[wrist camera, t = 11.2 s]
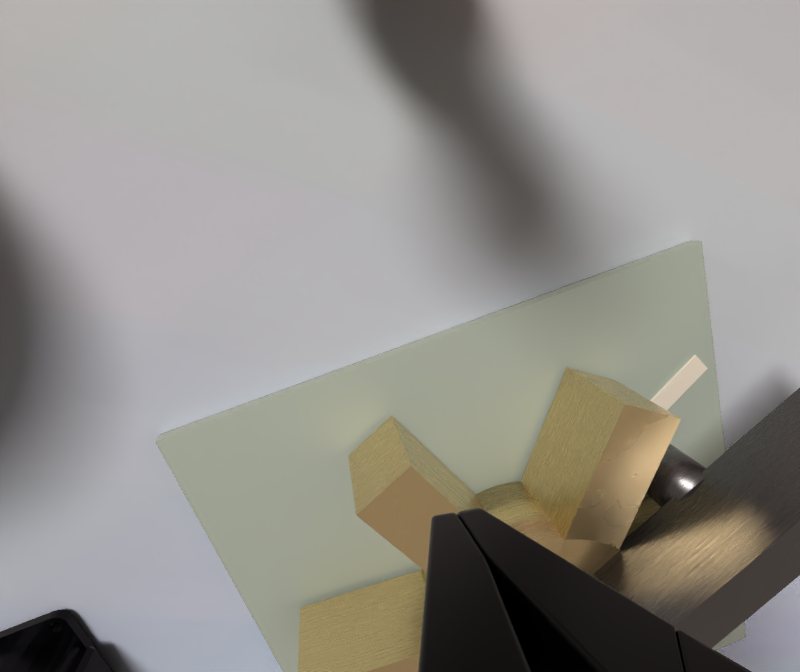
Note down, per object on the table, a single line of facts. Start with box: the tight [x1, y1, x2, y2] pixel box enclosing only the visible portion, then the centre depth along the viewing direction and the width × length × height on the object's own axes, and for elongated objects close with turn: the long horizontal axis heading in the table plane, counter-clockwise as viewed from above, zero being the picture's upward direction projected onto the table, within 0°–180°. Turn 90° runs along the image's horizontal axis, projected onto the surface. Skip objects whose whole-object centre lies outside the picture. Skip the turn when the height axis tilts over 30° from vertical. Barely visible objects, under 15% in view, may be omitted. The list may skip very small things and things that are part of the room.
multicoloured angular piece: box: [298, 367, 800, 672], centre depth 19 cm, size 20×26×7 cm
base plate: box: [156, 241, 746, 672], centre depth 23 cm, size 24×24×1 cm
